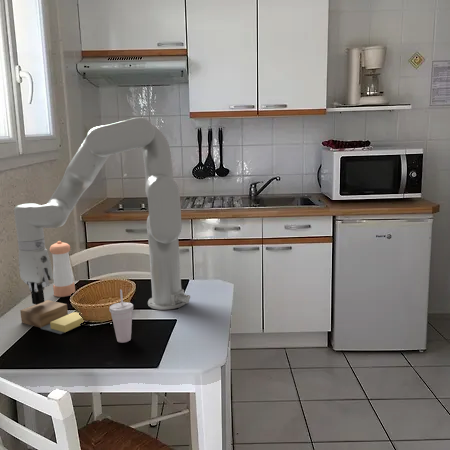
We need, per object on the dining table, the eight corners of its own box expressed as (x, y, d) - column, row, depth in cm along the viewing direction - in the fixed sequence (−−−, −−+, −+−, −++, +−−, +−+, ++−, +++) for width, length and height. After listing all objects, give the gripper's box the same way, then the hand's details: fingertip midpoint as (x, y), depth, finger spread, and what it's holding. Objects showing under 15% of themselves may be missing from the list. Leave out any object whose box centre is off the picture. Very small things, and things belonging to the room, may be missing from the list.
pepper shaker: (54, 291, 179) (49, 239, 175) (75, 289, 180) (70, 238, 177) (53, 298, 172) (47, 244, 168) (75, 295, 173) (69, 242, 170)
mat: (89, 320, 149) (89, 319, 149) (60, 334, 140) (60, 333, 140) (70, 316, 154) (69, 315, 154) (40, 328, 145) (40, 327, 145)
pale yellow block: (88, 315, 148) (88, 321, 148) (74, 311, 151) (74, 318, 151) (64, 325, 140) (65, 332, 141) (50, 322, 143) (50, 328, 144)
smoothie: (139, 335, 137) (136, 287, 134) (129, 345, 131) (125, 295, 128) (119, 334, 139) (115, 286, 136) (107, 343, 133) (103, 293, 130)
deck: (68, 316, 154) (66, 304, 153) (41, 327, 145) (39, 315, 145) (48, 311, 158) (47, 299, 158) (21, 322, 150) (20, 310, 149)
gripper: (58, 244, 148) (64, 302, 151) (26, 240, 156) (33, 295, 159) (37, 250, 142) (44, 310, 145) (5, 245, 149) (12, 303, 153)
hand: (38, 302), depth 152 cm, fingers closed
